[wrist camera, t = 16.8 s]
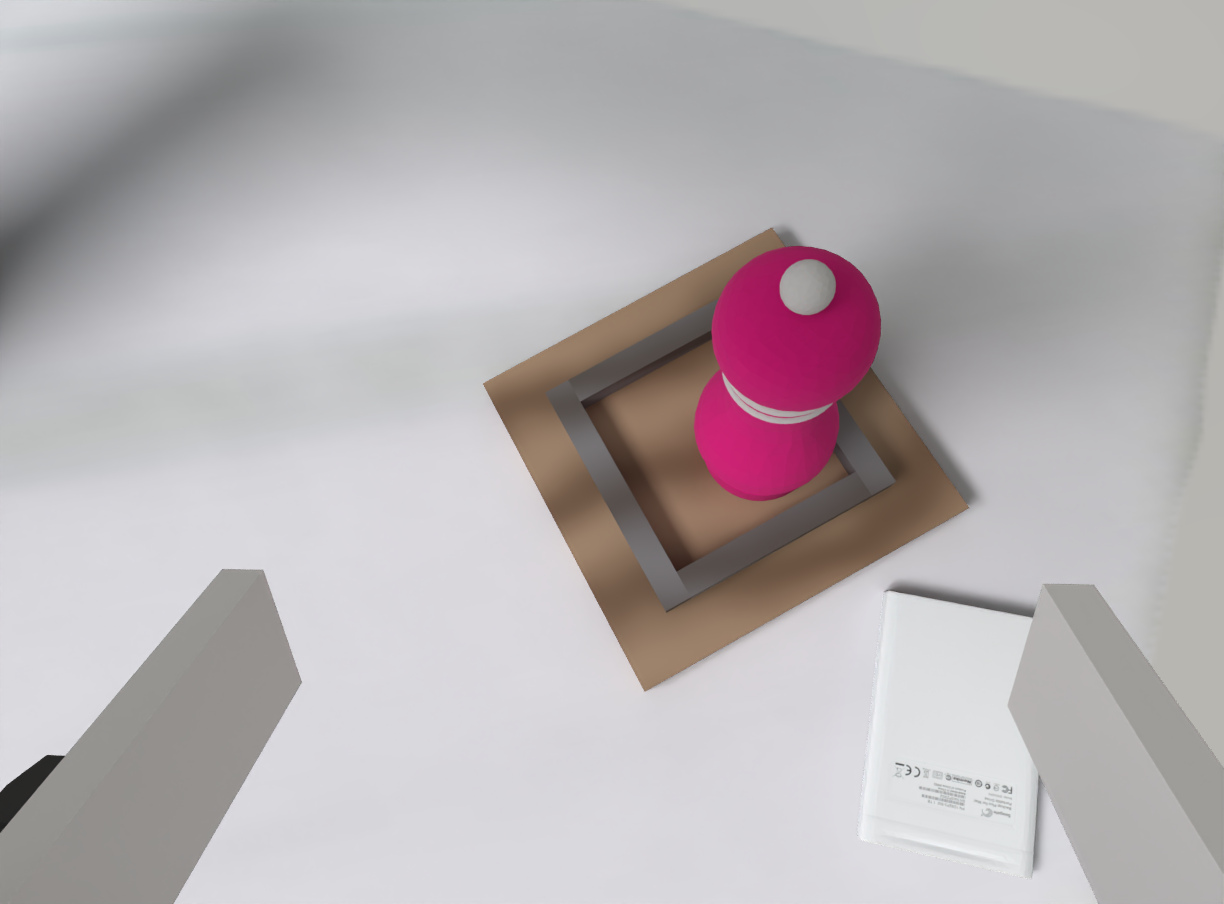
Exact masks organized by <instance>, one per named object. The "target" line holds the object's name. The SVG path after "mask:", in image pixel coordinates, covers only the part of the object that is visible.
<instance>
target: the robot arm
mask: <svg viewBox="0 0 1224 904" xmlns="http://www.w3.org/2000/svg"><path fill="white" fill-rule="evenodd" d="M301 683H302V681H301V678H300V675H299V672H298V670H297V667H296V664H295V661H294V658H293V655H292V652H291V649H290V646H289V643H288V640H287V638H286V635H285V632H284V629H283V626H282V623H281V620H280V617H279V614H278V611H277V609H276V606H275V603H274V600H273V597H272V594H271V591H270V588H269V585H268V582H267V579H266V577H265V574H264V571H263V570H241V569H222V570H221V571H220V573H219V574H218V575H217V576H216V577H215V578H214V580H213V581H212V582H211V583H210V584H209V586H208V587H207V588H206V589H205V590H204V592H203V593H202V594H201V595H200V596H199V598H198V599H197V600H196V601H195V602H194V603H193V605H192V606H191V607H190V608H189V609H188V611H187V612H186V613H185V614H184V615H183V617H182V618H181V619H180V620H179V621H178V622H177V624H176V625H175V626H174V627H173V628H172V630H171V631H170V632H169V633H168V634H167V636H166V637H165V638H164V639H163V640H162V641H161V643H160V644H159V645H158V646H157V647H156V649H155V650H154V651H153V652H152V653H151V655H150V656H149V657H148V658H147V659H146V661H145V662H144V663H143V664H142V665H141V666H140V668H139V669H138V670H137V671H136V672H135V674H134V675H133V676H132V677H131V678H130V680H129V681H128V682H127V683H126V684H125V685H124V687H123V688H122V689H121V690H120V691H119V693H118V694H117V695H116V696H115V697H114V699H113V700H112V701H111V702H110V703H109V704H108V706H107V707H106V708H105V709H104V710H103V712H102V713H101V714H100V715H99V716H98V718H97V719H96V720H95V721H94V722H93V723H92V725H91V726H90V727H89V728H88V729H87V731H86V732H85V733H84V734H83V735H82V737H81V738H80V739H79V740H78V741H77V743H76V744H75V745H74V746H73V747H72V748H71V750H70V751H69V752H68V753H67V754H66V756H56V755H46V756H45V757H44V758H42V759H41V760H40V761H38V762H37V763H36V764H34V765H33V766H32V767H30V768H29V769H28V770H26V771H25V772H24V773H22V774H21V775H20V776H18V777H17V778H16V779H14V780H13V781H12V782H10V783H9V784H8V785H6V787H5V788H4V789H3V790H2V791H1V792H0V904H173V903H174V902H175V900H176V898H177V897H178V895H179V893H180V891H181V890H182V888H183V886H184V884H185V883H186V881H187V879H188V878H189V876H190V874H191V872H192V871H193V869H194V867H195V866H196V864H197V862H198V860H199V859H200V857H201V855H202V853H203V852H204V850H205V848H206V847H207V845H208V843H209V841H210V840H211V838H212V836H213V834H214V833H215V831H216V829H217V828H218V826H219V824H220V822H221V821H222V819H223V817H224V816H225V814H226V812H227V810H228V809H229V807H230V805H231V803H232V802H233V800H234V798H235V797H236V795H237V793H238V791H239V790H240V788H241V786H242V784H243V783H244V781H245V779H246V778H247V776H248V774H249V772H250V771H251V769H252V767H253V766H254V764H255V762H256V760H257V759H258V757H259V755H260V753H261V752H262V750H263V748H264V747H265V745H266V743H267V741H268V740H269V738H270V736H271V734H272V733H273V731H274V729H275V728H276V726H277V724H278V722H279V721H280V719H281V717H282V716H283V714H284V712H285V710H286V709H287V707H288V705H289V703H290V702H291V700H292V698H293V697H294V695H295V693H296V691H297V690H298V688H299V686H300V684H301ZM1007 706H1008V708H1009V710H1010V712H1011V715H1012V717H1013V719H1014V721H1015V723H1016V725H1017V728H1018V730H1019V732H1020V734H1021V736H1022V739H1023V741H1024V743H1025V745H1026V747H1027V749H1028V752H1029V754H1030V756H1031V758H1032V760H1033V762H1034V765H1035V767H1036V769H1037V771H1038V773H1039V775H1040V778H1041V780H1042V782H1043V784H1044V786H1045V788H1046V791H1047V793H1048V795H1049V797H1050V799H1051V802H1052V804H1053V806H1054V808H1055V810H1056V812H1057V815H1058V817H1059V819H1060V821H1061V823H1062V825H1063V828H1064V830H1065V832H1066V834H1067V836H1068V838H1069V841H1070V843H1071V845H1072V847H1073V849H1074V851H1075V854H1076V856H1077V858H1078V860H1079V862H1080V865H1081V867H1082V869H1083V871H1084V873H1085V875H1086V878H1087V880H1088V882H1089V884H1090V886H1091V888H1092V891H1093V893H1094V895H1095V897H1096V899H1097V901H1098V904H1224V768H1223V767H1222V765H1221V764H1220V762H1219V761H1218V759H1217V758H1216V756H1215V755H1214V754H1213V752H1212V751H1211V749H1210V748H1209V747H1208V745H1207V744H1206V742H1205V741H1204V740H1203V738H1202V737H1201V735H1200V734H1199V733H1198V731H1197V730H1196V728H1195V727H1194V725H1193V724H1192V723H1191V721H1190V720H1189V718H1188V717H1187V716H1186V714H1185V713H1184V711H1183V710H1182V709H1181V707H1180V706H1179V704H1178V703H1177V701H1176V700H1175V699H1174V697H1173V696H1172V694H1171V693H1170V692H1169V690H1168V689H1167V687H1166V686H1165V685H1164V684H1163V682H1162V680H1161V679H1160V678H1159V676H1158V675H1157V673H1156V672H1155V670H1154V669H1153V668H1152V666H1151V665H1150V663H1149V662H1148V661H1147V659H1146V658H1145V656H1144V655H1143V654H1142V652H1141V651H1140V649H1139V648H1138V646H1137V645H1136V644H1135V642H1134V641H1133V639H1132V638H1131V637H1130V635H1129V634H1128V632H1127V631H1126V630H1125V628H1124V627H1123V625H1122V624H1121V623H1120V621H1119V620H1118V618H1117V617H1116V615H1115V614H1114V613H1113V611H1112V610H1111V608H1110V607H1109V606H1108V604H1107V603H1106V601H1105V600H1104V599H1103V597H1102V596H1101V594H1100V593H1099V591H1098V590H1097V589H1096V587H1095V586H1094V585H1077V584H1043V586H1042V589H1041V593H1040V596H1039V599H1038V603H1037V606H1036V610H1035V613H1034V616H1033V620H1032V623H1031V627H1030V630H1029V633H1028V637H1027V640H1026V644H1025V647H1024V651H1023V654H1022V657H1021V661H1020V664H1019V668H1018V671H1017V674H1016V678H1015V681H1014V685H1013V688H1012V691H1011V695H1010V698H1009V702H1008V705H1007Z"/></svg>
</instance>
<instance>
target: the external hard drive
mask: <svg viewBox="0 0 1224 904" xmlns="http://www.w3.org/2000/svg"><path fill="white" fill-rule="evenodd" d="M1032 620H1033V617H1027V616H1022V615H1016V614H1011V613H1006V612H1001V611H995V610H990V609H985V608H979V607H974V606H969V605H963V604H958V603H953V602H947V601H942V600H937V599H932V598H926V597H921V596H916V595H910V594H906V593H898V592H893V591H886V592H883V600H882V609H881V618H880V626H879V636H878V646H877V655H876V664H875V673H874V682H873V691H872V700H871V709H870V718H869V727H868V736H867V745H866V754H865V763H864V772H863V782H862V790H861V799H860V809H859V817H858V826H857V837H858V838H859V839H861V840H863V841H867V842H870V843H875V844H879V845H884V846H888V847H893V848H897V849H901V850H906V851H910V852H914V853H919V854H923V855H927V856H932V857H936V858H941V859H945V860H949V861H953V862H957V863H962V864H966V865H970V866H975V867H979V868H983V869H988V870H992V871H996V872H1001V873H1005V874H1009V875H1013V876H1017V877H1022V878H1027V879H1032V873H1033V855H1034V841H1035V825H1036V811H1037V796H1038V780H1039V773H1038V771H1037V769H1036V767H1035V765H1034V762H1033V760H1032V758H1031V756H1030V754H1029V752H1028V749H1027V747H1026V745H1025V743H1024V741H1023V739H1022V736H1021V734H1020V732H1019V730H1018V728H1017V725H1016V723H1015V721H1014V719H1013V717H1012V715H1011V712H1010V710H1009V708H1008V706H1007V705H1008V702H1009V698H1010V695H1011V691H1012V688H1013V685H1014V681H1015V678H1016V674H1017V671H1018V668H1019V664H1020V661H1021V657H1022V654H1023V651H1024V647H1025V644H1026V640H1027V637H1028V633H1029V630H1030V627H1031V623H1032Z"/></svg>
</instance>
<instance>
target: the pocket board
mask: <svg viewBox="0 0 1224 904" xmlns="http://www.w3.org/2000/svg"><path fill="white" fill-rule="evenodd" d="M782 247H785V245H784V244H783V243H782V241H781V240H780V238H779V237H778V236H777V234H776V233H775V231H774V230H773V228H770V229H768V230H767V231H765V232H763V233H761V234H759V235H757V236H755V237H754V238H752V239H750V240H748V241H746V242H744V243H742V244H741V245H739V246H737V247H735V248H733V249H731V250H729V251H728V252H726V253H724V254H722V255H720V256H718V257H717V258H715V259H713V260H711V261H709V262H707V263H705V264H704V265H702V266H700V267H698V268H696V269H694V270H692V271H691V272H689V273H687V274H685V275H683V276H681V277H679V278H678V279H676V280H674V281H672V282H670V283H668V284H666V285H665V286H663V287H661V288H659V289H657V290H655V291H654V292H652V293H650V294H648V295H646V296H644V297H642V298H641V299H639V300H637V301H635V302H633V303H631V304H629V305H628V306H626V307H624V308H622V309H620V310H618V311H616V312H615V313H613V314H611V315H609V316H607V317H605V318H603V319H602V320H600V321H598V322H596V323H594V324H592V325H590V326H589V327H587V328H585V329H583V330H581V331H579V332H578V333H576V334H574V335H572V336H570V337H568V338H566V339H565V340H563V341H561V342H559V343H557V344H555V345H553V346H552V347H550V348H548V349H546V350H544V351H542V352H540V353H539V354H537V355H535V356H533V357H531V358H529V359H527V360H526V361H524V362H522V363H520V364H518V365H516V366H515V367H513V368H511V369H509V370H507V371H505V372H503V373H502V374H500V375H498V376H496V377H494V378H492V379H490V380H489V381H487V382H485V383H483V385H484V387H485V389H486V391H487V392H488V394H489V396H490V398H491V400H492V402H493V404H494V406H495V408H496V410H497V412H498V413H499V415H500V417H501V419H502V421H503V423H504V425H505V427H506V429H507V431H508V432H509V434H510V436H511V438H512V440H513V442H514V444H515V446H516V448H517V450H518V451H519V453H520V455H521V457H522V459H523V461H524V463H525V465H526V467H527V469H528V470H529V472H530V474H531V476H532V478H533V480H534V482H535V484H536V486H537V488H538V490H539V491H540V493H541V495H542V497H543V499H544V501H545V503H546V505H547V507H548V509H549V510H550V512H551V514H552V516H553V518H554V520H555V522H556V524H557V526H558V528H559V529H560V531H561V533H562V535H563V537H564V539H565V541H566V543H567V545H568V547H569V549H570V550H571V552H572V554H573V556H574V558H575V560H576V562H577V564H578V566H579V568H580V569H581V571H582V573H583V575H584V577H585V579H586V581H587V583H588V585H589V587H590V588H591V590H592V592H593V594H594V596H595V598H596V600H597V602H598V604H599V606H600V607H601V609H602V611H603V613H604V615H605V617H606V619H607V621H608V623H609V625H610V627H611V628H612V630H613V632H614V634H615V636H616V638H617V640H618V642H619V644H620V646H621V647H622V649H623V651H624V653H625V655H626V657H627V659H628V661H629V663H630V665H631V666H632V668H633V670H634V672H635V674H636V676H637V678H638V680H639V682H640V684H641V685H642V687H643V689H644V691H647V690H649V689H650V688H652V687H654V686H656V685H657V684H659V683H661V682H663V681H665V680H666V679H668V678H670V677H672V676H673V675H675V674H677V673H679V672H680V671H682V670H684V669H686V668H687V667H689V666H691V665H693V664H695V663H696V662H698V661H700V660H702V659H703V658H705V657H707V656H709V655H710V654H712V653H714V652H716V651H717V650H719V649H721V648H723V647H725V646H726V645H728V644H730V643H732V642H733V641H735V640H737V639H739V638H740V637H742V636H744V635H746V634H747V633H749V632H751V631H753V630H755V629H756V628H758V627H760V626H762V625H763V624H765V623H767V622H769V621H770V620H772V619H774V618H776V617H777V616H779V615H781V614H783V613H785V612H786V611H788V610H790V609H792V608H793V607H795V606H797V605H799V604H800V603H802V602H804V601H806V600H808V599H809V598H811V597H813V596H815V595H816V594H818V593H820V592H822V591H823V590H825V589H827V588H829V587H830V586H832V585H834V584H836V583H838V582H839V581H841V580H843V579H845V578H846V577H848V576H850V575H852V574H853V573H855V572H857V571H859V570H860V569H862V568H864V567H866V566H868V565H869V564H871V563H873V562H875V561H876V560H878V559H880V558H882V557H883V556H885V555H887V554H889V553H890V552H892V551H894V550H896V549H898V548H899V547H901V546H903V545H905V544H906V543H908V542H910V541H912V540H913V539H915V538H917V537H919V536H921V535H922V534H924V533H926V532H928V531H929V530H931V529H933V528H935V527H936V526H938V525H940V524H942V523H943V522H945V521H947V520H949V519H951V518H952V517H954V516H956V515H958V514H959V513H961V512H963V511H965V510H966V509H968V508H969V507H968V505H967V504H966V503H965V501H964V500H963V498H962V497H961V495H960V494H959V493H958V491H957V490H956V488H955V487H954V485H953V484H952V483H951V481H950V480H949V478H948V477H947V476H946V474H945V473H944V471H943V470H942V468H941V467H940V466H939V464H938V463H937V461H936V460H935V458H934V457H933V456H932V454H931V453H930V451H929V450H928V449H927V447H926V446H925V444H924V443H923V441H922V440H921V439H920V437H919V436H918V434H917V433H916V431H915V430H914V429H913V427H912V426H911V424H910V423H909V422H908V420H907V419H906V417H905V416H904V414H903V413H902V412H901V410H900V409H899V407H898V406H897V405H896V403H895V402H894V400H893V399H892V397H891V396H890V395H889V393H888V392H887V390H886V389H885V387H884V386H883V385H882V383H881V382H880V380H879V379H878V378H877V376H876V375H875V373H874V372H873V370H872V369H871V368H869V370H868V372H867V373H866V374H865V376H864V377H863V378H862V379H861V381H860V382H859V383H858V384H857V385H856V386H855V387H854V388H853V389H852V390H851V391H850V392H849V393H847V394H846V395H845V396H843V397H842V398H840V399H839V400H838V401H836V403H837V406H838V412H839V431H838V436H837V440H836V444H835V447H834V450H833V453H832V455H831V457H830V459H829V461H828V463H827V464H826V465H825V467H824V468H823V469H822V470H821V472H820V473H819V474H818V475H817V476H815V477H814V478H813V479H812V480H810V481H809V482H808V483H806V484H804V485H803V486H801V487H799V488H797V489H795V490H794V491H792V492H791V493H789V494H787V495H785V496H783V497H780V498H777V499H773V500H767V501H752V500H746V499H743V498H740V497H737V496H735V495H733V494H731V493H729V492H728V491H726V490H725V489H724V488H722V487H721V486H720V485H719V484H718V483H717V482H716V481H715V480H714V478H713V477H712V475H711V474H710V472H709V470H708V468H707V466H706V463H705V461H704V459H703V458H702V456H701V454H700V452H699V449H698V446H697V443H696V439H695V432H694V420H695V412H696V409H697V405H698V402H699V399H700V396H701V394H702V392H703V389H704V387H705V386H706V384H707V383H708V381H709V380H710V379H711V378H712V376H713V375H714V374H715V373H716V372H717V371H718V370H719V369H720V367H719V364H718V362H717V359H716V356H715V354H714V350H713V343H712V320H713V316H714V311H715V307H716V305H717V302H718V300H719V298H720V296H721V294H722V291H723V289H724V287H725V286H726V285H727V283H728V282H729V280H730V279H731V278H732V277H733V275H734V274H735V273H736V272H737V271H738V270H739V269H740V268H741V267H743V266H744V265H745V264H747V263H748V262H749V261H751V260H752V259H753V258H755V257H757V256H759V255H761V254H763V253H765V252H767V251H771V250H774V249H778V248H782Z"/></svg>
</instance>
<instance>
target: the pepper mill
mask: <svg viewBox="0 0 1224 904" xmlns="http://www.w3.org/2000/svg"><path fill="white" fill-rule="evenodd" d="M880 334H881V318H880V311H879V305H878V302H877V299H876V297H875V295H874V292H873V290H872V288H871V286H870V284H869V283H868V281H867V280H866V279H865V277H864V276H863V274H862V273H861V272H860V271H859V270H858V269H857V268H856V267H855V266H854V265H852V264H851V263H850V262H848V261H847V260H845V259H844V258H842V257H840V256H839V255H836V254H834V253H831V252H829V251H827V250H823V249H818V248H813V247H804V246H791V247H782V248H778V249H774V250H771V251H767V252H765V253H763V254H761V255H759V256H757V257H755V258H753V259H752V260H751V261H749V262H748V263H747V264H745V265H744V266H743V267H741V268H740V269H739V270H738V271H737V272H736V273H735V274H734V275H733V277H732V278H731V279H730V280H729V282H728V283H727V285H726V286H725V287H724V289H723V291H722V294H721V296H720V298H719V300H718V302H717V305H716V307H715V311H714V316H713V320H712V343H713V350H714V354H715V356H716V359H717V362H718V364H719V367H720V369H719V370H718V371H717V372H716V373H715V374H714V375H713V376H712V378H711V379H710V380H709V381H708V383H707V384H706V386H705V387H704V389H703V392H702V394H701V396H700V399H699V402H698V405H697V409H696V412H695V420H694V432H695V439H696V443H697V446H698V449H699V452H700V454H701V456H702V458H703V459H704V461H705V463H706V466H707V468H708V470H709V472H710V474H711V475H712V477H713V478H714V480H715V481H716V482H717V483H718V484H719V485H720V486H721V487H722V488H724V489H725V490H726V491H728V492H729V493H731V494H733V495H735V496H737V497H740V498H743V499H746V500H752V501H767V500H773V499H777V498H780V497H783V496H785V495H787V494H789V493H791V492H792V491H794V490H795V489H797V488H799V487H801V486H803V485H804V484H806V483H808V482H809V481H810V480H812V479H813V478H814V477H815V476H817V475H818V474H819V473H820V472H821V470H822V469H823V468H824V467H825V465H826V464H827V463H828V461H829V459H830V457H831V455H832V453H833V450H834V447H835V444H836V440H837V436H838V431H839V412H838V406H837V403H836V401H838V400H839V399H840V398H842V397H843V396H845V395H846V394H847V393H849V392H850V391H851V390H852V389H853V388H854V387H855V386H856V385H857V384H858V383H859V382H860V381H861V379H862V378H863V377H864V376H865V374H866V373H867V372H868V370H869V368H870V366H871V364H872V363H873V361H874V358H875V355H876V353H877V350H878V345H879V340H880Z"/></svg>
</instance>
